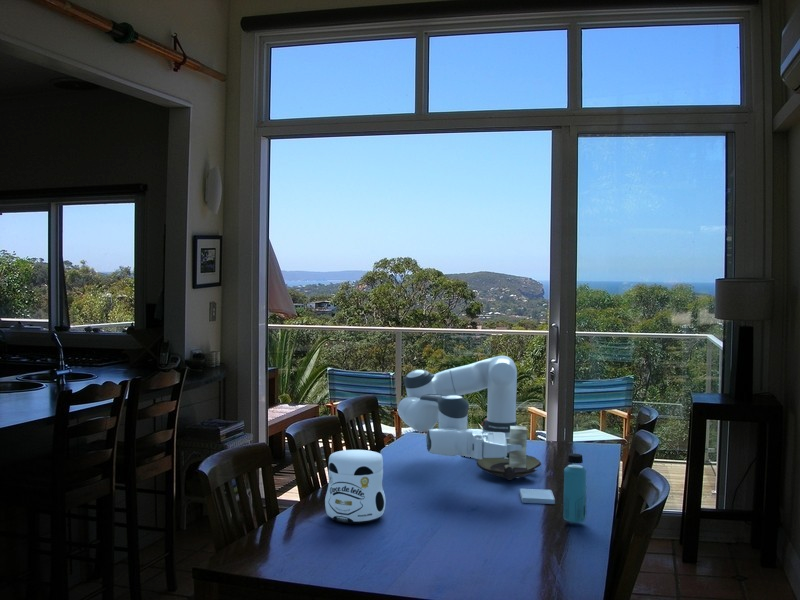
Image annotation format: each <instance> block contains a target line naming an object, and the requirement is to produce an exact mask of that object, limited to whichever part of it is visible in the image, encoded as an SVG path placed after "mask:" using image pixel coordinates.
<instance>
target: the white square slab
mask: <svg viewBox="0 0 800 600" xmlns="http://www.w3.org/2000/svg"><path fill="white" fill-rule="evenodd" d="M519 496H520V500H521V503H522V504H540V505H541V504H544V505H545V504H547V505H555V504H556V499H555V496H554V494H553V491H552V489H540V488H539V489H537V488H536V489H535V488H519Z"/></svg>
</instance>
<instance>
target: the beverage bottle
mask: <svg viewBox="0 0 800 600" xmlns="http://www.w3.org/2000/svg"><path fill="white" fill-rule="evenodd" d="M567 456H568V457H567V463H568V462H569V463H570V464H568V465H566V467H565V468H563V507H562V517H563V519H564V520H565V521H567V522H570V523H578V524H579V523H583V522H586V519H587V493H588V492H587V469H585V467H584V466H582V465H579V464H582V463H583V461H584V460H583V454H582V453H581V454H580V453H576V452H575V453H573V452H572V453H568V455H567Z"/></svg>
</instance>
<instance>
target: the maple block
mask: <svg viewBox="0 0 800 600" xmlns="http://www.w3.org/2000/svg"><path fill="white" fill-rule="evenodd" d="M527 436H528V429H527V426H521V425H517V426H510V444H521V446H522V450H521V451H517V450H516V451H509V465H510V467H519V468H526V455H527V447H528V446H527V443H528V442H527V441H528V440H527V438H528V437H527Z"/></svg>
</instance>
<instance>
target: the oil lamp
mask: <svg viewBox="0 0 800 600" xmlns="http://www.w3.org/2000/svg"><path fill="white" fill-rule="evenodd" d="M506 457H507V458H509V452H507V456H506ZM541 465H542V463H541V461H540V460H539V459H538V458H537V457H535V456H532V455H527V454H526V468H519V467H510V465H509V459H504V457H502V458H484V457H483V458H482V459H476V466H477V467H478V468H479V469H481V470H483V471H484V472H486V473H488V474H490V475H491V476H492V475H493V476H496V477H499V478H504V479H507V480H509V481H510V480H513V479H515V478H522V477H525V476H528V475H530V474H533V473H535V472H537V471H538V469H537V468H538V467H540V466H541Z"/></svg>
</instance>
